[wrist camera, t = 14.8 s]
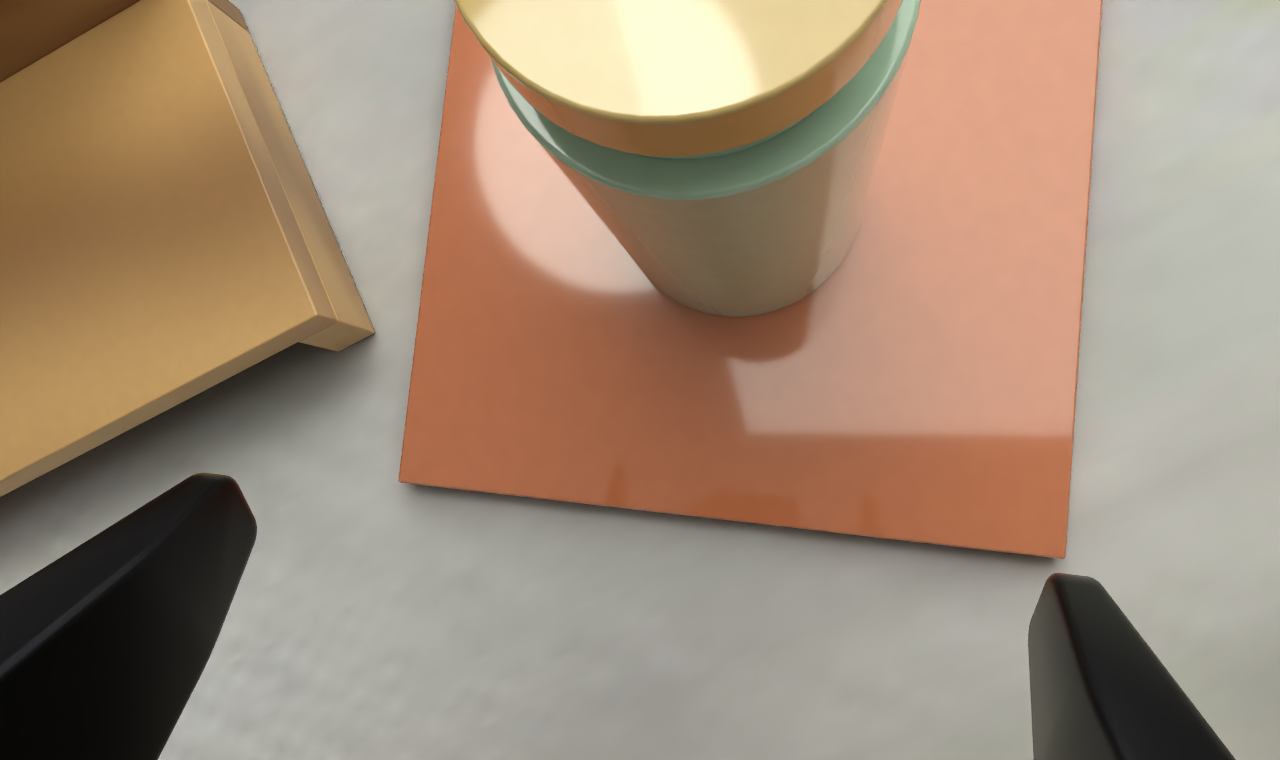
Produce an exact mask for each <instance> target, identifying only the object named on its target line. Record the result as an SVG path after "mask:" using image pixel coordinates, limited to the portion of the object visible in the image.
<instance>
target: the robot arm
mask: <svg viewBox="0 0 1280 760" xmlns="http://www.w3.org/2000/svg"><path fill="white" fill-rule="evenodd" d="M256 534H257V525H256V520H255V518H254V516H253V514H252V512H251V510H250V508H249V506H248V504H247V502H246V500H245V498H244V496H243V494H242V492H241V490H240V488H239V486H238V484H237V482H236V481H235V480H234V479H233V478H231V477H230V476H226V475H218V474H209V473H199V474H195V475H192V476H191V477H189V478H187V479H185V480H184V481H182V482H181V483H179V484H177V485H176V486H174V487H173V488H171V489H169V490H168V491H166V492H165V493H163V494H161V495H160V496H158V497H157V498H155V499H153V500H152V501H150V502H149V503H147V504H145V505H144V506H142V507H141V508H139V509H137V510H136V511H134V512H133V513H131V514H129V515H128V516H126V517H125V518H123V519H121V520H120V521H118V522H117V523H115V524H113V525H112V526H110V527H109V528H107V529H105V530H104V531H102V532H101V533H99V534H97V535H96V536H94V537H93V538H91V539H89V540H88V541H86V542H85V543H83V544H81V545H80V546H78V547H77V548H75V549H73V550H72V551H70V552H69V553H67V554H65V555H64V556H62V557H61V558H59V559H57V560H56V561H54V562H53V563H51V564H49V565H48V566H46V567H45V568H43V569H41V570H40V571H38V572H37V573H35V574H33V575H32V576H30V577H29V578H27V579H25V580H24V581H22V582H21V583H19V584H17V585H16V586H14V587H13V588H11V589H9V590H8V591H6V592H5V593H3V594H1V595H0V760H158V758H159V756H160V754H161V752H162V750H163V748H164V746H165V744H166V742H167V740H168V738H169V737H170V735H171V733H172V731H173V729H174V727H175V725H176V723H177V721H178V719H179V717H180V715H181V713H182V711H183V709H184V707H185V705H186V703H187V701H188V699H189V697H190V695H191V693H192V692H193V690H194V688H195V686H196V684H197V682H198V680H199V678H200V676H201V674H202V672H203V670H204V668H205V665H206V663H207V661H208V659H209V657H210V655H211V652H212V650H213V648H214V645H215V643H216V641H217V638H218V636H219V633H220V631H221V628H222V625H223V623H224V620H225V618H226V615H227V613H228V610H229V607H230V605H231V602H232V600H233V597H234V595H235V592H236V589H237V587H238V584H239V582H240V579H241V577H242V574H243V571H244V569H245V566H246V564H247V561H248V559H249V556H250V553H251V551H252V548H253V546H254V543H255V540H256ZM1028 649H1029V669H1030V690H1031V711H1032V732H1033V753H1034V760H1236V759H1235V758H1234V757H1233V756H1232V754H1231V753H1230V752H1229V750H1228V749H1227V748H1226V746H1225V745H1224V744H1223V743H1222V741H1221V740H1220V739H1219V737H1218V736H1217V735H1216V733H1215V732H1214V731H1213V729H1212V728H1211V727H1210V726H1209V724H1208V723H1207V722H1206V720H1205V719H1204V718H1203V716H1202V715H1201V714H1200V713H1199V711H1198V710H1197V709H1196V707H1195V706H1194V705H1193V703H1192V702H1191V701H1190V700H1189V698H1188V697H1187V696H1186V694H1185V693H1184V692H1183V690H1182V689H1181V688H1180V686H1179V685H1178V684H1177V683H1176V681H1175V680H1174V679H1173V677H1172V676H1171V675H1170V673H1169V672H1168V671H1167V670H1166V668H1165V667H1164V666H1163V664H1162V663H1161V662H1160V660H1159V659H1158V658H1157V656H1156V655H1155V654H1154V653H1153V651H1152V650H1151V649H1150V647H1149V646H1148V645H1147V643H1146V642H1145V641H1144V640H1143V638H1142V637H1141V636H1140V634H1139V633H1138V632H1137V630H1136V629H1135V628H1134V626H1133V625H1132V624H1131V623H1130V621H1129V620H1128V619H1127V617H1126V616H1125V615H1124V613H1123V612H1122V611H1121V610H1120V608H1119V607H1118V606H1117V604H1116V603H1115V602H1114V600H1113V599H1112V598H1111V596H1110V595H1109V594H1108V593H1107V591H1106V590H1105V589H1104V587H1103V586H1102V585H1101V584H1100V583H1099V582H1098V581H1097V580H1095V579H1093V578H1091V577H1087V576H1079V575H1070V574H1062V573H1054V574H1052V575H1051V576H1050V577H1049V578H1048V579H1047V581H1046V583H1045V585H1044V588H1043V590H1042V593H1041V596H1040V598H1039V601H1038V603H1037V606H1036V608H1035V611H1034V613H1033V616H1032V618H1031V621H1030V626H1029V634H1028Z"/></svg>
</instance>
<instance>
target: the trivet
mask: <svg viewBox="0 0 1280 760" xmlns="http://www.w3.org/2000/svg"><path fill="white" fill-rule="evenodd" d="M1101 15H1102V0H921V2H920V7H919V13H918V19H917V23H916V26H915V30H914V34H913V37H912V41H911V44H910V48H909V51H908V55H907V59H906V62H905V66H904V69H903V73H902V76H901V80H900V84H899V87H898V91H897V94H896V98H895V101H894V105H893V109H892V112H891V116H890V119H889V123H888V126H887V130H886V134H885V137H884V141H883V144H882V148H881V151H880V155H879V159H878V162H877V166H876V169H875V173H874V176H873V180H872V184H871V187H870V191H869V194H868V198H867V201H866V205H865V209H864V212H863V216H862V219H861V223H860V226H859V229H858V232H857V235H856V237H855V240H854V242H853V244H852V246H851V248H850V250H849V252H848V253H847V255H846V256H845V258H844V260H843V261H842V263H841V264H840V265H839V267H838V268H837V269H836V270H835V271H834V272H833V274H832V275H831V276H830V277H829V278H828V279H827V280H826V281H825V282H824V283H823V284H821V285H820V286H819V287H818V288H817V289H816V290H814V291H813V292H811V293H810V294H808V295H807V296H806V297H804V298H802V299H800V300H799V301H797V302H795V303H793V304H791V305H789V306H786V307H784V308H781V309H778V310H776V311H773V312H768V313H764V314H760V315H753V316H744V317H731V316H720V315H713V314H708V313H704V312H701V311H698V310H694V309H692V308H690V307H687V306H685V305H683V304H681V303H679V302H677V301H675V300H674V299H672V298H670V297H669V296H667V295H666V294H664V293H663V292H662V291H661V290H660V289H658V288H657V287H656V286H655V285H654V284H653V283H652V282H651V281H650V280H649V279H648V278H647V277H646V276H645V275H644V274H643V272H642V271H641V270H640V269H639V268H638V266H637V265H636V264H635V263H634V261H633V260H632V259H631V258H630V256H629V255H628V254H627V253H626V251H625V250H624V249H623V248H622V247H621V245H620V244H619V243H618V242H617V240H616V239H615V238H614V237H613V235H612V234H611V233H610V232H609V230H608V229H607V228H606V227H605V226H604V224H603V223H602V222H601V221H600V219H599V218H598V217H597V216H596V214H595V213H594V212H593V211H592V209H591V208H590V207H589V206H588V205H587V203H586V202H585V201H584V200H583V198H582V197H581V196H580V195H579V193H578V192H577V191H576V190H575V188H574V187H573V186H572V185H571V183H570V182H569V181H568V180H567V179H566V177H565V176H564V175H563V174H562V172H561V171H560V170H559V169H558V167H557V166H556V165H555V164H554V162H553V161H552V160H551V159H550V158H549V156H548V155H547V154H546V153H545V151H544V150H543V149H542V148H541V146H540V145H539V144H538V143H537V141H536V140H535V139H534V138H533V137H532V135H531V134H530V133H529V132H528V130H527V129H526V128H525V126H524V125H523V124H522V122H521V121H520V119H519V118H518V116H517V115H516V114H515V112H514V111H513V109H512V108H511V106H510V104H509V102H508V101H507V99H506V97H505V95H504V93H503V91H502V89H501V87H500V85H499V83H498V80H497V77H496V74H495V71H494V68H493V65H492V62H491V59H490V56H489V55H488V54H487V52H486V51H485V50H484V48H483V47H482V46H481V44H480V43H479V41H478V40H477V38H476V37H475V36H474V34H473V33H472V31H471V30H470V29H469V27H468V26H467V24H466V23H465V21H464V19H463V17H462V15H461V14H460V12H459V10H458V8H457V6H456V9H455V17H454V25H453V33H452V42H451V50H450V58H449V67H448V75H447V83H446V91H445V100H444V108H443V116H442V125H441V133H440V141H439V149H438V158H437V166H436V174H435V183H434V191H433V199H432V207H431V216H430V224H429V232H428V241H427V249H426V257H425V265H424V274H423V282H422V290H421V299H420V307H419V315H418V324H417V332H416V340H415V348H414V357H413V365H412V373H411V382H410V390H409V398H408V406H407V415H406V423H405V431H404V440H403V448H402V456H401V464H400V473H399V482H401V483H410V484H419V485H427V486H436V487H445V488H453V489H462V490H471V491H479V492H488V493H497V494H505V495H514V496H523V497H531V498H540V499H549V500H557V501H566V502H575V503H583V504H592V505H601V506H609V507H618V508H627V509H635V510H644V511H653V512H661V513H670V514H678V515H687V516H696V517H704V518H713V519H722V520H730V521H739V522H748V523H756V524H765V525H774V526H782V527H791V528H800V529H808V530H817V531H826V532H834V533H843V534H852V535H860V536H869V537H878V538H886V539H895V540H904V541H912V542H921V543H930V544H938V545H947V546H956V547H964V548H973V549H982V550H990V551H999V552H1008V553H1016V554H1025V555H1034V556H1042V557H1051V558H1059V559H1064V558H1065V555H1066V540H1067V525H1068V510H1069V495H1070V480H1071V465H1072V450H1073V435H1074V420H1075V405H1076V390H1077V375H1078V360H1079V345H1080V330H1081V315H1082V300H1083V285H1084V270H1085V255H1086V240H1087V225H1088V210H1089V195H1090V180H1091V165H1092V150H1093V135H1094V120H1095V105H1096V90H1097V75H1098V60H1099V45H1100V30H1101Z"/></svg>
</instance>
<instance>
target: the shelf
mask: <svg viewBox="0 0 1280 760" xmlns="http://www.w3.org/2000/svg"><path fill="white" fill-rule="evenodd" d="M373 333H375V331H374V328H373V326H372V324H371V321H370V319H369V317H368V314H367V312H366V309H365V307H364V305H363V302H362V300H361V298H360V295H359V293H358V290H357V288H356V286H355V283H354V281H353V278H352V276H351V274H350V271H349V269H348V267H347V264H346V262H345V259H344V257H343V255H342V252H341V250H340V248H339V245H338V243H337V240H336V238H335V236H334V233H333V231H332V228H331V226H330V224H329V221H328V219H327V217H326V214H325V212H324V209H323V207H322V205H321V202H320V200H319V197H318V195H317V193H316V190H315V188H314V186H313V183H312V181H311V178H310V176H309V174H308V171H307V169H306V167H305V164H304V162H303V159H302V157H301V155H300V152H299V150H298V147H297V145H296V143H295V140H294V138H293V136H292V133H291V131H290V128H289V126H288V124H287V121H286V119H285V117H284V114H283V112H282V109H281V107H280V105H279V102H278V100H277V97H276V95H275V93H274V90H273V88H272V86H271V83H270V81H269V78H268V76H267V74H266V71H265V69H264V66H263V64H262V62H261V59H260V57H259V55H258V52H257V50H256V47H255V45H254V43H253V40H252V38H251V36H250V33H249V32H248V29H247V26H246V24H245V21H244V19H243V17H242V14H241V12H240V10H239V9H238V8H237V7H236V6H234V5H233V4H232V3H231V2H229V1H228V0H0V497H1V496H3V495H5V494H7V493H9V492H11V491H12V490H14V489H16V488H18V487H20V486H22V485H24V484H26V483H28V482H30V481H32V480H34V479H36V478H37V477H39V476H41V475H43V474H45V473H47V472H49V471H51V470H53V469H55V468H57V467H59V466H61V465H62V464H64V463H66V462H68V461H70V460H72V459H74V458H76V457H78V456H80V455H82V454H84V453H85V452H87V451H89V450H91V449H93V448H95V447H97V446H99V445H101V444H103V443H105V442H107V441H109V440H110V439H112V438H114V437H116V436H118V435H120V434H122V433H124V432H126V431H128V430H130V429H132V428H134V427H135V426H137V425H139V424H141V423H143V422H145V421H147V420H149V419H151V418H153V417H155V416H157V415H159V414H160V413H162V412H164V411H166V410H168V409H170V408H172V407H174V406H176V405H178V404H180V403H182V402H184V401H185V400H187V399H189V398H191V397H193V396H195V395H197V394H199V393H201V392H203V391H205V390H207V389H209V388H210V387H212V386H214V385H216V384H218V383H220V382H222V381H224V380H226V379H228V378H230V377H232V376H233V375H235V374H237V373H239V372H241V371H243V370H245V369H247V368H249V367H251V366H253V365H255V364H257V363H258V362H260V361H262V360H264V359H266V358H268V357H270V356H272V355H274V354H276V353H278V352H280V351H282V350H283V349H285V348H287V347H289V346H291V345H293V344H295V343H297V342H300V343H304V344H308V345H312V346H317V347H321V348H325V349H329V350H334V351H341V350H342V349H344V348H346V347H348V346H350V345H352V344H354V343H356V342H358V341H360V340H362V339H364V338H366V337H368V336H370V335H372V334H373Z"/></svg>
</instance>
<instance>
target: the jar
mask: <svg viewBox="0 0 1280 760" xmlns="http://www.w3.org/2000/svg"><path fill="white" fill-rule="evenodd" d="M454 2H455V4H456V6H457V8H458V10H459V12H460V14H461V15H462V17H463V19H464V21H465V23H466V24H467V26H468V27H469V29H470V30H471V31H472V33H473V34H474V36H475V37H476V38H477V40H478V41H479V43H480V44H481V46H482V47H483V48H484V50H485V51H486V52H487V54H488V55H489V56H490V59H491V62H492V65H493V68H494V71H495V74H496V77H497V80H498V83H499V85H500V87H501V89H502V91H503V93H504V95H505V97H506V99H507V101H508V102H509V104H510V106H511V108H512V109H513V111H514V112H515V114H516V115H517V116H518V118H519V119H520V121H521V122H522V124H523V125H524V126H525V128H526V129H527V130H528V132H529V133H530V134H531V135H532V137H533V138H534V139H535V140H536V141H537V143H538V144H539V145H540V146H541V148H542V149H543V150H544V151H545V153H546V154H547V155H548V156H549V158H550V159H551V160H552V161H553V162H554V164H555V165H556V166H557V167H558V169H559V170H560V171H561V172H562V174H563V175H564V176H565V177H566V179H567V180H568V181H569V182H570V183H571V185H572V186H573V187H574V188H575V190H576V191H577V192H578V193H579V195H580V196H581V197H582V198H583V200H584V201H585V202H586V203H587V205H588V206H589V207H590V208H591V209H592V211H593V212H594V213H595V214H596V216H597V217H598V218H599V219H600V221H601V222H602V223H603V224H604V226H605V227H606V228H607V229H608V230H609V232H610V233H611V234H612V235H613V237H614V238H615V239H616V240H617V242H618V243H619V244H620V245H621V247H622V248H623V249H624V250H625V251H626V253H627V254H628V255H629V256H630V258H631V259H632V260H633V261H634V263H635V264H636V265H637V266H638V268H639V269H640V270H641V271H642V272H643V274H644V275H645V276H646V277H647V278H648V279H649V280H650V281H651V282H652V283H653V284H654V285H655V286H656V287H657V288H658V289H660V290H661V291H662V292H663V293H664V294H666V295H667V296H669V297H670V298H672V299H674V300H675V301H677V302H679V303H681V304H683V305H685V306H687V307H690V308H692V309H694V310H698V311H701V312H704V313H708V314H713V315H720V316H731V317H744V316H753V315H760V314H764V313H768V312H773V311H776V310H778V309H781V308H784V307H786V306H789V305H791V304H793V303H795V302H797V301H799V300H800V299H802V298H804V297H806V296H807V295H808V294H810V293H811V292H813V291H814V290H816V289H817V288H818V287H819V286H820V285H821V284H823V283H824V282H825V281H826V280H827V279H828V278H829V277H830V276H831V275H832V274H833V272H834V271H835V270H836V269H837V268H838V267H839V265H840V264H841V263H842V261H843V260H844V258H845V256H846V255H847V253H848V252H849V250H850V248H851V246H852V244H853V242H854V240H855V237H856V235H857V232H858V229H859V226H860V223H861V219H862V216H863V212H864V209H865V205H866V201H867V198H868V194H869V191H870V187H871V184H872V180H873V176H874V173H875V169H876V166H877V162H878V159H879V155H880V151H881V148H882V144H883V141H884V137H885V134H886V130H887V126H888V123H889V119H890V116H891V112H892V109H893V105H894V101H895V98H896V94H897V91H898V87H899V84H900V80H901V76H902V73H903V69H904V66H905V62H906V59H907V55H908V51H909V48H910V44H911V41H912V37H913V34H914V30H915V26H916V23H917V19H918V13H919V7H920V2H921V0H454Z"/></svg>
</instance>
